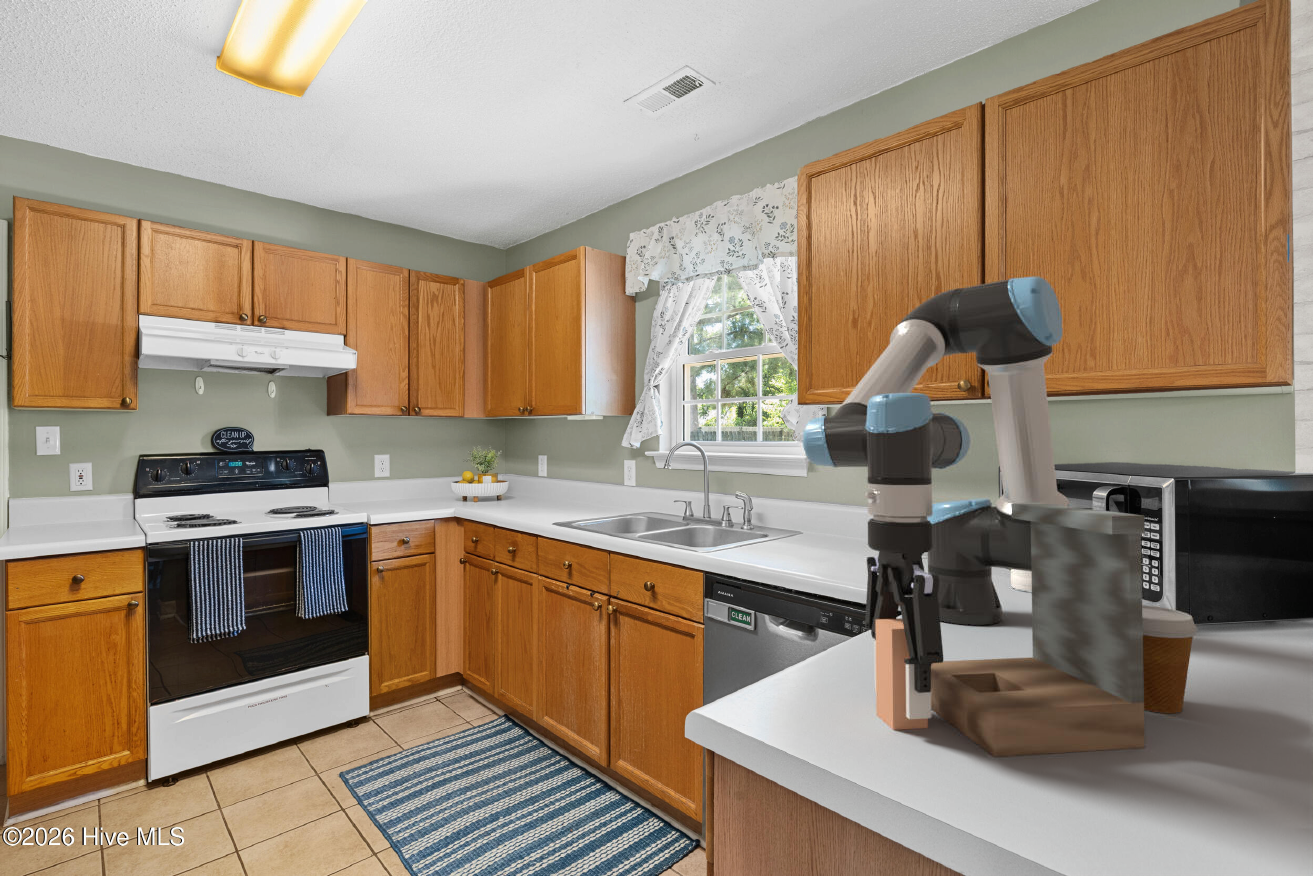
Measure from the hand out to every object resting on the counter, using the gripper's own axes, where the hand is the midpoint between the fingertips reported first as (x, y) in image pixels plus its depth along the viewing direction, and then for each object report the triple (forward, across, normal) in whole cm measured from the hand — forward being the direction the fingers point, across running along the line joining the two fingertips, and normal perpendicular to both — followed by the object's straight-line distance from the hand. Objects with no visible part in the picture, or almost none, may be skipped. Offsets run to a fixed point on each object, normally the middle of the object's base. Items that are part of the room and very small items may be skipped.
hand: (901, 703), depth 80 cm
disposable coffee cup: (+2, -1, +35) cm, 35 cm away
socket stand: (+2, +2, +14) cm, 15 cm away
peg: (+2, 0, 0) cm, 2 cm away
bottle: (+2, -66, +66) cm, 93 cm away
